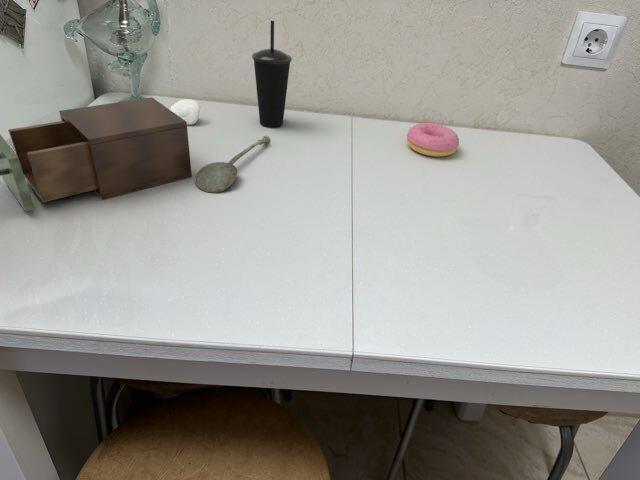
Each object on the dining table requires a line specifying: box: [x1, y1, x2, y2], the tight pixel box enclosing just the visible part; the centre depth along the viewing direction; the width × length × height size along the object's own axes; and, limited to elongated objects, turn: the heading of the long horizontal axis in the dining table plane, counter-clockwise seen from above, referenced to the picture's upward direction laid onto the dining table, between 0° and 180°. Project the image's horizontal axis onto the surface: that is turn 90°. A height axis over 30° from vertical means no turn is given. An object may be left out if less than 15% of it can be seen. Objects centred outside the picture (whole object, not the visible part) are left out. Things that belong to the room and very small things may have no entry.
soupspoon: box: [194, 135, 272, 194], centre depth 87 cm, size 22×3×7 cm
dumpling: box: [168, 98, 201, 126], centre depth 100 cm, size 7×5×4 cm
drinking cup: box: [251, 20, 293, 129], centre depth 98 cm, size 8×8×20 cm
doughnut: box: [406, 122, 460, 158], centre depth 101 cm, size 11×11×4 cm
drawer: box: [0, 120, 98, 212], centre depth 71 cm, size 18×11×8 cm, turn 132°
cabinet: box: [58, 96, 193, 201], centre depth 78 cm, size 15×12×10 cm
